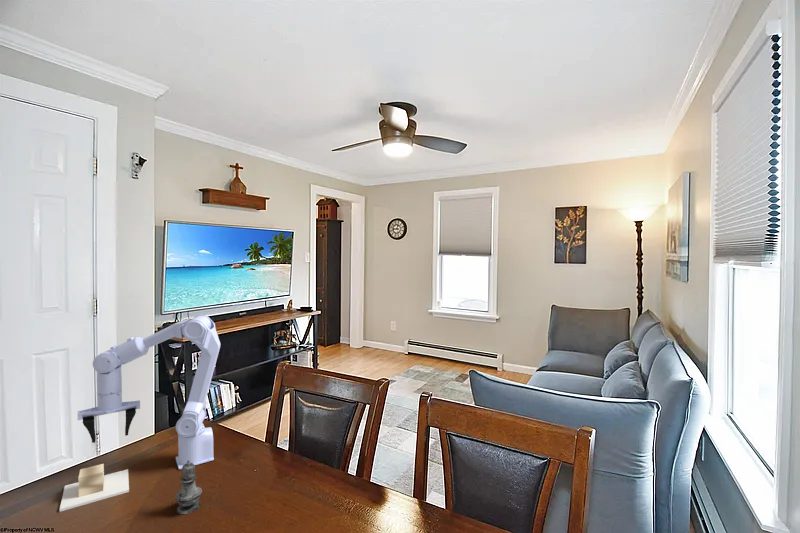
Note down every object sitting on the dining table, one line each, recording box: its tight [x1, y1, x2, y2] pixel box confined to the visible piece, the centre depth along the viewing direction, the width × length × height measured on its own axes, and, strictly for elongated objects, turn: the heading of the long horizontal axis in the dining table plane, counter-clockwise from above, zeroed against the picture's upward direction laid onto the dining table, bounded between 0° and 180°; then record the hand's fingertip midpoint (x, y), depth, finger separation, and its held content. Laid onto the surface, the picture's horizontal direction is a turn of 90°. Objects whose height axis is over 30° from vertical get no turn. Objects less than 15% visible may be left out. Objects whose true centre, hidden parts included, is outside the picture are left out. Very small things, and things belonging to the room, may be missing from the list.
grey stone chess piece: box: [174, 460, 203, 515], centre depth 98 cm, size 6×6×12 cm
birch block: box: [77, 463, 105, 497], centre depth 104 cm, size 5×5×5 cm
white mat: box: [59, 468, 130, 513], centre depth 105 cm, size 14×12×1 cm
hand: (110, 437), depth 114 cm, fingers open, 7 cm apart
